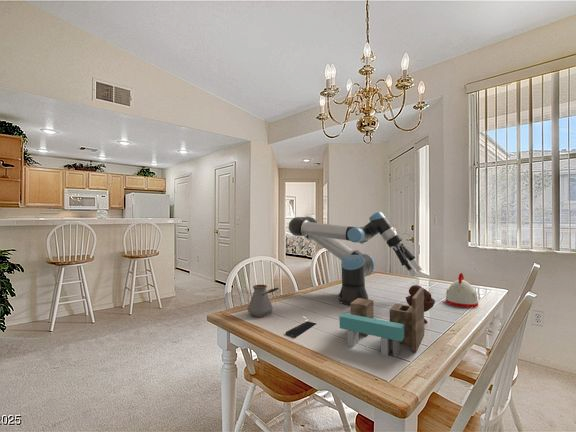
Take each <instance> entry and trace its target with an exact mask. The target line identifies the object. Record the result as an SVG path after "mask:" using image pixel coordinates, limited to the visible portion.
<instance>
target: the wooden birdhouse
mask: <svg viewBox="0 0 576 432" xmlns="http://www.w3.org/2000/svg"><path fill="white" fill-rule="evenodd" d="M424 289H425V287H422V288H420V289H419V290H418V291H417V293H416V294H415V295H414V296H413V297H412V306H409V305H408V304H401V303H394V304H393V305H392V306H391V307H390V308H389V322H395V323H400V324H404V338H403V340H402V342H401V341H400V345H402V346H407V347H411V348H412V353H415V354H416V353H418V350H419V348H420V346H421V343H422V342H423V339H424V337H425V324H424V319H425V312H424ZM392 343H393V340H392Z"/></svg>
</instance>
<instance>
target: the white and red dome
mask: <svg viewBox="0 0 576 432" xmlns="http://www.w3.org/2000/svg"><path fill="white" fill-rule="evenodd" d="M463 274H464V273H462V272H460V273H459V274H458V279H457V280H454V281H453V282H452V283H451V284H450V286H449V287H447V288H446V293H445V302H446V304H448V305H451V306H454V307H459V308H468V309H470V308H471V307H473V308H477V307H478V306H479V300H478V299H479V298H478V293H477V290H475V289H474V287H473V286H472V285H471V284H470V283H469V282H468V281H466V280H465V276H464V275H463ZM476 306H477V307H476Z"/></svg>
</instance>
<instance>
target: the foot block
mask: <svg viewBox="0 0 576 432" xmlns="http://www.w3.org/2000/svg"><path fill="white" fill-rule="evenodd" d="M349 306H350V314H352V315H357V316H362V317H368V318H373V319H375V318H374V314H375V313H374V299H369V300H368V299H362V298H357V299H356V300H354V301H353V302H351V303H350V305H349ZM359 336H362V337H365V338H367V337H368V336H369V334H364V333H359Z"/></svg>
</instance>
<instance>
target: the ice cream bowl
mask: <svg viewBox="0 0 576 432" xmlns="http://www.w3.org/2000/svg"><path fill="white" fill-rule="evenodd" d="M420 288H423V286H421V285H418V284H413V285H411V286H410V287H409V289H408V294H409V295H407V296H405V301H406V303H407V305H408V306H412V297H413V296H414V295H415V294H416V293H417V291H418V290H419V289H420ZM435 303H436V300H435V299H434V298H433V297H432V294H431V293H430V291H428V290H427V289H426V288H424V313H425V312H428V311H429V310H431V309H432V308H433V307H434V305H435ZM428 323H429V321H428V320H427V319H425V318H424V325H427V324H428Z"/></svg>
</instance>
